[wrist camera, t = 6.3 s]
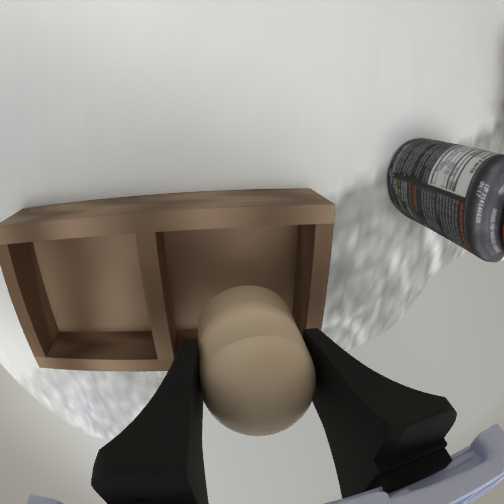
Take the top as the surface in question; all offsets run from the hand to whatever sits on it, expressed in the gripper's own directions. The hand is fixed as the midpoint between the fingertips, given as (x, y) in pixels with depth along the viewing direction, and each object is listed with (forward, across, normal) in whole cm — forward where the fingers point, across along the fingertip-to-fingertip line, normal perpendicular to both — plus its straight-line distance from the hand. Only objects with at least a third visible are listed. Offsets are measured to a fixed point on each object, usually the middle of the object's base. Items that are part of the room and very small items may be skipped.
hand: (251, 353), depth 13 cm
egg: (+2, 0, 0) cm, 2 cm away
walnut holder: (+8, +4, 0) cm, 10 cm away
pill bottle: (+9, -14, -6) cm, 17 cm away
